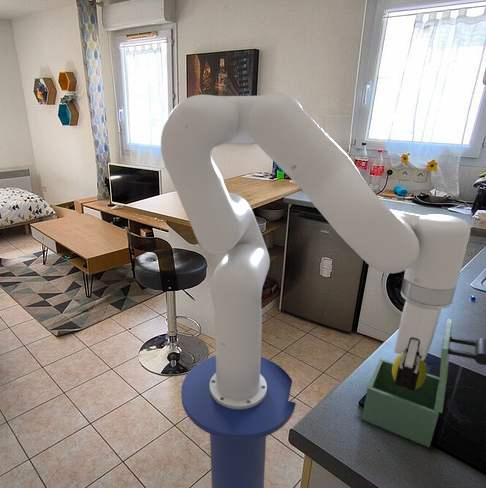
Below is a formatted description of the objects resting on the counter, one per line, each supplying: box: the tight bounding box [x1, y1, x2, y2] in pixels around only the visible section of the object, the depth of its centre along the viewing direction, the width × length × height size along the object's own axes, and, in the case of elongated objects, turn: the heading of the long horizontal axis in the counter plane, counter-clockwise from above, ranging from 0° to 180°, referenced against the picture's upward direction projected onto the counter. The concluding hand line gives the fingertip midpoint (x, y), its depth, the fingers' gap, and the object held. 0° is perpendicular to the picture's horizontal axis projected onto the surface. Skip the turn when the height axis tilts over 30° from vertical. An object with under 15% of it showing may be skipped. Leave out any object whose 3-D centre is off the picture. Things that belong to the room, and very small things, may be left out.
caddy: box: [361, 357, 440, 448], centre depth 69 cm, size 11×10×8 cm
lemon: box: [392, 352, 428, 390], centre depth 67 cm, size 6×6×8 cm
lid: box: [437, 318, 486, 414], centre depth 61 cm, size 12×10×6 cm
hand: (407, 376), depth 67 cm, fingers closed on lemon, 5 cm apart
